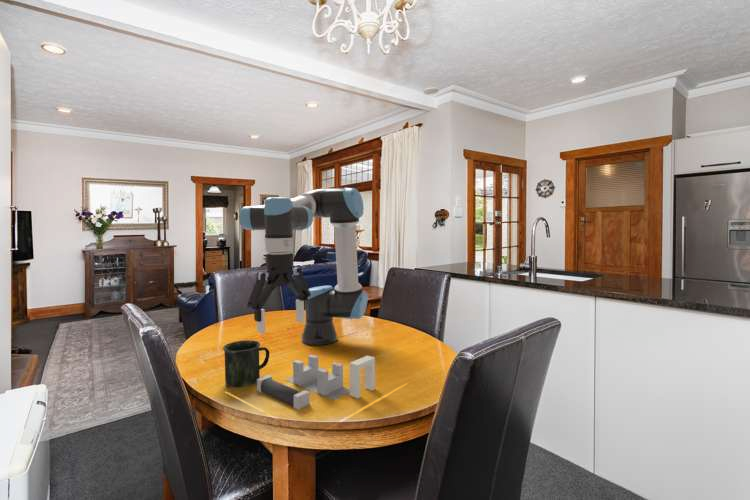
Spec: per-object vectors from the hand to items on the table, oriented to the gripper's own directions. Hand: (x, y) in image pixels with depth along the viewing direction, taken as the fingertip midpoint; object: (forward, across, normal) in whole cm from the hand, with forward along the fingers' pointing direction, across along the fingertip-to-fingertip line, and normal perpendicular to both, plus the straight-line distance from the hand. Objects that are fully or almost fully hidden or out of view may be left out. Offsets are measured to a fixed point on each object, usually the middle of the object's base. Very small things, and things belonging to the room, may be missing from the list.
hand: (281, 326), depth 111 cm
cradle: (+21, +11, -2) cm, 24 cm away
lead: (+21, -1, 0) cm, 21 cm away
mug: (+21, 0, +19) cm, 28 cm away
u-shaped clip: (+21, +16, -16) cm, 31 cm away
